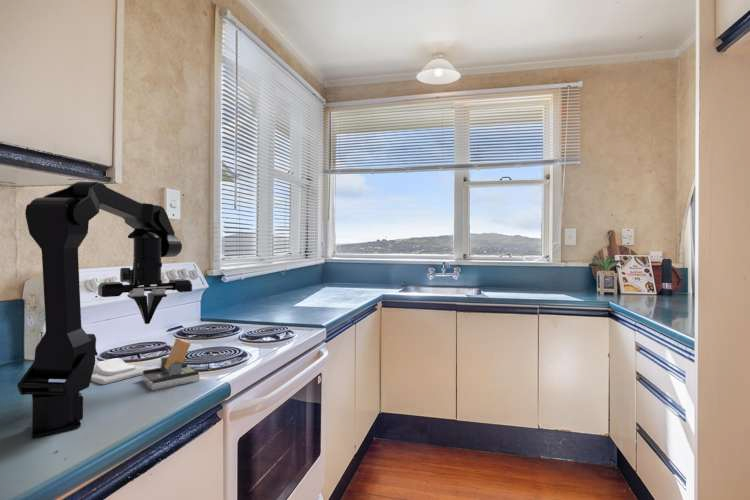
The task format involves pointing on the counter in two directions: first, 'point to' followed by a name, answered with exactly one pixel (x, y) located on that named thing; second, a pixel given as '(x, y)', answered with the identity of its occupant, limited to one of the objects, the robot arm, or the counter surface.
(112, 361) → the light switch
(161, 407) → the counter surface
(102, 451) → the counter surface
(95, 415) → the counter surface
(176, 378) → the toggle switch base
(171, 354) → the lever
